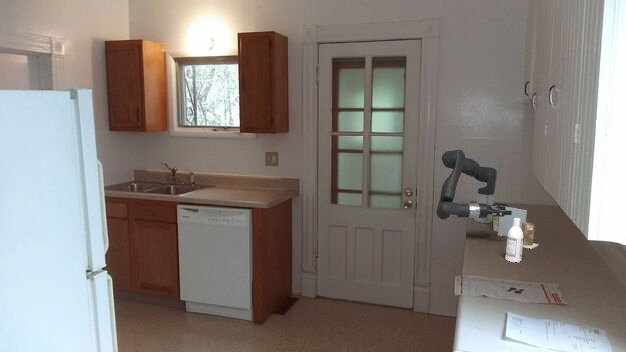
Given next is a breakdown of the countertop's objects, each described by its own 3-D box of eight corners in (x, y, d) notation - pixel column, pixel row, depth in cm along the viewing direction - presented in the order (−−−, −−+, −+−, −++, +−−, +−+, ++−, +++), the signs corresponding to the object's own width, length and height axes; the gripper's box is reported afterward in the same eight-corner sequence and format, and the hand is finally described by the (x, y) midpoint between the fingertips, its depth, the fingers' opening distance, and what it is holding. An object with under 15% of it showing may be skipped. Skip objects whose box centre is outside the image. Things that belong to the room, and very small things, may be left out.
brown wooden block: (523, 245, 255) (525, 224, 253) (520, 242, 259) (522, 222, 257) (532, 245, 254) (534, 224, 253) (528, 242, 259) (530, 222, 257)
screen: (496, 235, 274) (498, 206, 272) (501, 233, 279) (503, 205, 276) (521, 240, 265) (524, 211, 262) (526, 238, 269) (528, 209, 266)
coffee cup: (488, 231, 281) (490, 205, 279) (491, 227, 290) (493, 202, 288) (507, 234, 277) (509, 207, 274) (509, 230, 286) (511, 204, 283)
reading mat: (513, 244, 257) (513, 243, 257) (521, 241, 263) (521, 240, 263) (531, 249, 251) (531, 247, 251) (538, 245, 257) (538, 244, 257)
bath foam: (516, 257, 236) (520, 216, 233) (524, 262, 230) (528, 220, 226) (502, 258, 236) (506, 216, 232) (509, 263, 229) (513, 220, 226)
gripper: (481, 207, 248) (514, 206, 248) (472, 200, 262) (503, 200, 262) (480, 221, 249) (513, 221, 249) (471, 214, 263) (502, 213, 263)
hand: (508, 210), depth 255 cm, fingers open, 8 cm apart
